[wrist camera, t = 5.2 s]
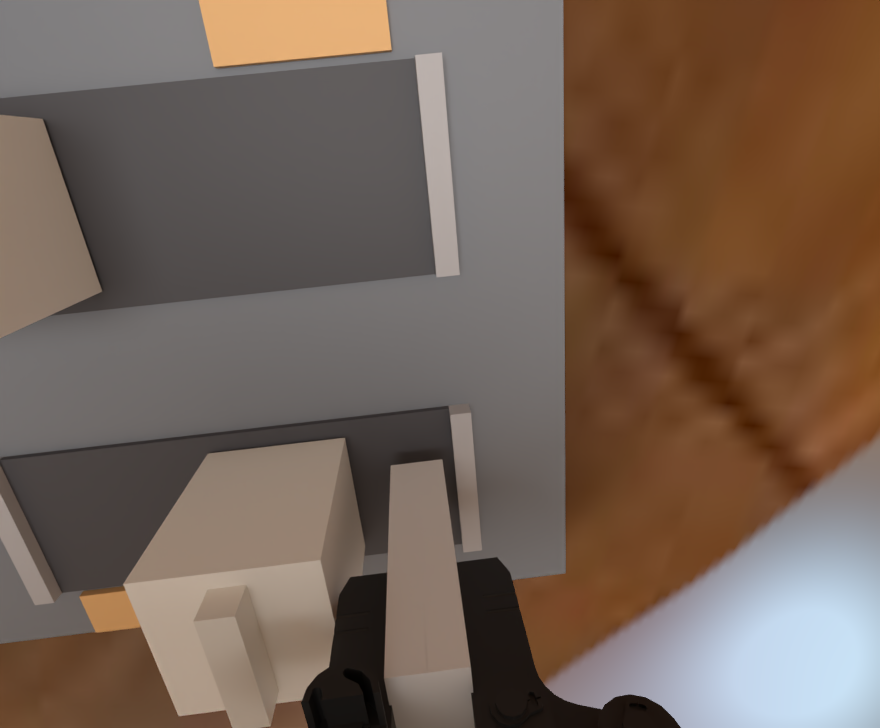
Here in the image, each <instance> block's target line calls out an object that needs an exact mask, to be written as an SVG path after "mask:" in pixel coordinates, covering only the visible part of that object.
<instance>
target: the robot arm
mask: <svg viewBox="0 0 880 728" xmlns="http://www.w3.org/2000/svg"><path fill="white" fill-rule="evenodd" d="M301 704H302V707H303V711H304V714H305V718H306V721H307V724H308V728H681V727H680V726H679V725H678V723H677V722H676V721H675V719H674V718H673V717H672V716H671V715H670V714H669V713H668V712H667V711H666V710H665V709H664V708H663V707H662V706H660V705H658V704H657V703H655V702H653V701H651V700H649V699H648V698H646V697H641V696H635V695H624V696H619V697H615V698H614V699H612V700H611V701H609V702H608V703H607V704H605V705H604V707H603V709H602V710H601V709H597V708H591V707H587V706H582V705H577V704H574V703H570V702H567V701H565V700H563V699H561V698H559V697H558V696H556V695H554V694H553V693H552V692H551V691H550V690H549V689H548V688H547V687H545V685H544V684H543V682H542V681H541V680H540V678H539V676H538V674H537V671H536V669H535V665H534V662H533V658H532V654H531V650H530V646H529V643H528V639H527V635H526V631H525V627H524V624H523V620H522V616H521V612H520V610H519V604H518V601H517V597H516V594H515V589H514V585H513V582H512V578H511V574H510V571H509V570H508V569H507V568H506V567H505V566H504V564H503V563H502V562H501V561H500V560H499V559H498V557H494V558H486V559H478V560H470V561H462V562H456V556H455V548H454V541H453V534H452V527H451V519H450V512H449V505H448V497H447V490H446V483H445V476H444V468H443V461H442V459H440V460H432V461H423V462H415V463H407V464H399V465H391V471H390V503H389V535H388V567H387V573H379V574H371V575H363V576H355V577H350V578H349V580H348V581H347V583H346V585H345V586H344V588H343V590H342V591H341V593H340V595H339V599H338V606H337V613H336V621H335V628H334V636H333V642H332V649H331V656H330V664H329V667H328V668H327V669H325V670H324V671H323V672H321V673H320V674H318V675H317V676H316V677H315V678H314V680H313V681H312V682H311V683H310V685H309V686H308V687H307V689H306V691H305V694H304V697H303V699H302V702H301Z"/></svg>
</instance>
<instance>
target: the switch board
mask: <svg viewBox="0 0 880 728" xmlns="http://www.w3.org/2000/svg"><path fill="white" fill-rule="evenodd" d="M0 115H8V116H18V117H29V118H39V119H43V121H44V124H45V127H46V130H47V133H48V136H49V139H50V142H51V145H52V148H53V150H54V153H55V156H56V159H57V162H58V165H59V168H60V171H61V174H62V176H63V179H64V182H65V185H66V188H67V191H68V194H69V197H70V200H71V203H72V205H73V208H74V211H75V214H76V217H77V220H78V223H79V226H80V229H81V231H82V234H83V237H84V240H85V243H86V246H87V249H88V252H89V255H90V257H91V260H92V263H93V266H94V269H95V272H96V275H97V278H98V281H99V284H100V286H101V289H102V292H100V293H98V294H96V295H93V296H91V297H89V298H87V299H85V300H83V301H80V302H78V303H76V304H74V305H72V306H69V307H67V308H65V309H63V310H61V311H58V312H56V313H54V314H52V315H50V316H48V317H45V318H43V319H41V320H39V321H37V322H34V323H32V324H30V325H28V326H26V327H24V328H21V329H19V330H17V331H15V332H13V333H10V334H8V335H6V336H4V337H2V338H0V644H2V643H10V642H18V641H26V640H34V639H42V638H50V637H58V636H66V635H74V634H83V633H91V632H96V633H98V632H106V631H114V630H122V629H130V628H138V627H141V626H140V623H139V621H138V619H137V616H136V614H135V612H134V609H133V607H132V604H131V602H130V600H129V597H128V595H127V593H126V590H125V588H124V585H123V584H124V582H125V580H126V579H127V577H128V576H129V574H130V573H131V571H132V570H133V568H134V567H135V565H136V564H137V562H138V560H139V559H140V557H141V556H142V554H143V553H144V551H145V550H146V548H147V547H148V545H149V543H150V542H151V540H152V539H153V537H154V536H155V534H156V533H157V531H158V530H159V528H160V527H161V525H162V523H163V522H164V520H165V519H166V517H167V516H168V514H169V513H170V511H171V510H172V508H173V506H174V505H175V503H176V502H177V500H178V499H179V497H180V496H181V494H182V493H183V491H184V490H185V488H186V486H187V485H188V483H189V482H190V480H191V479H192V477H193V476H194V474H195V473H196V471H197V469H198V468H199V466H200V465H201V463H202V462H203V460H204V459H205V457H206V456H207V454H209V453H217V452H226V451H234V450H243V449H252V448H260V447H269V446H277V445H286V444H295V443H303V442H312V441H321V440H329V439H338V438H345V441H346V446H347V451H348V457H349V462H350V467H351V473H352V478H353V483H354V489H355V494H356V500H357V505H358V510H359V516H360V521H361V526H362V532H363V537H364V542H365V552H364V562H363V573H362V576H363V575H371V574H379V573H387V567H388V535H389V503H390V471H391V465H399V464H407V463H415V462H423V461H432V460H440V459H442V461H443V468H444V476H445V483H446V490H447V497H448V505H449V512H450V519H451V527H452V534H453V541H454V548H455V556H456V562H462V561H470V560H478V559H486V558H494V557H498V559H499V560H500V561H501V562H502V563H503V564H504V566H505V567H506V568H507V569H508V570H509V571H510V574H511V578H512V580H516V579H524V578H532V577H540V576H548V575H556V574H564V573H566V539H565V311H564V83H563V0H0Z"/></svg>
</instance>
